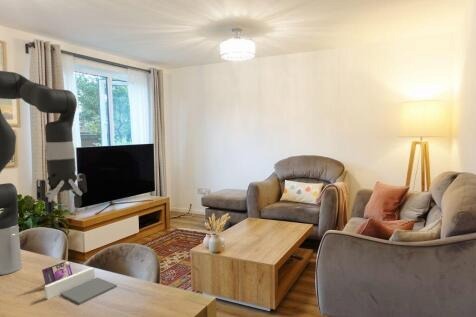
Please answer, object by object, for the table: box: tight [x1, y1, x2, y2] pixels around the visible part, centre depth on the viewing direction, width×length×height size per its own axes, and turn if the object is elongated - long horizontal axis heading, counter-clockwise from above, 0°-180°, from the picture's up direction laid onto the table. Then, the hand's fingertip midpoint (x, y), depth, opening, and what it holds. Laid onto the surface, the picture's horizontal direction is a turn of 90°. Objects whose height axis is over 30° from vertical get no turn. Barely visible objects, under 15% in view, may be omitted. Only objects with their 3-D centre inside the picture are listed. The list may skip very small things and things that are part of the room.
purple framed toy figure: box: [41, 260, 73, 285], centre depth 114 cm, size 7×5×9 cm
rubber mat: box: [59, 277, 118, 305], centre depth 107 cm, size 11×13×1 cm
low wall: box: [44, 266, 96, 300], centre depth 109 cm, size 2×16×4 cm, turn 146°
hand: (64, 210), depth 98 cm, fingers open, 8 cm apart
